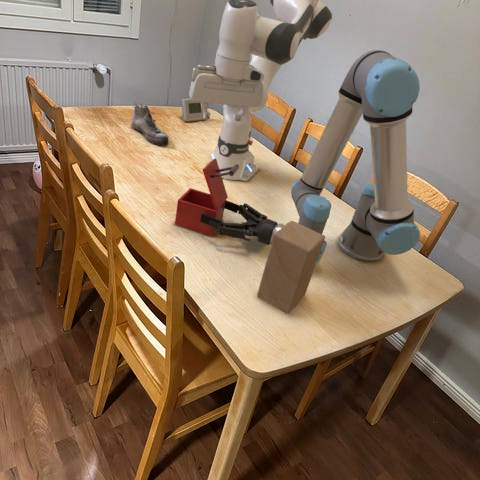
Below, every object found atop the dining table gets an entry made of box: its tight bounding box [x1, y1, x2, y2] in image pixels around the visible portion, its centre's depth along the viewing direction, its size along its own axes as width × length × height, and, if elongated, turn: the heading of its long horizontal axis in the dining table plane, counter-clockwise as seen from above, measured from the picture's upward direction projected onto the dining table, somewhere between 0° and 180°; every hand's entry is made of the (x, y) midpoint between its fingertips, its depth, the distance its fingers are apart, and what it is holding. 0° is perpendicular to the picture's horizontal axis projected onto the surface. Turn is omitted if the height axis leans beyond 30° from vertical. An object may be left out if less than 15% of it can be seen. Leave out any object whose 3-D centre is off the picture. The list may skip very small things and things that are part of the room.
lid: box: [201, 158, 239, 210], centre depth 132 cm, size 13×10×8 cm
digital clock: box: [181, 97, 209, 123], centre depth 223 cm, size 16×9×11 cm, turn 123°
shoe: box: [130, 103, 169, 147], centre depth 193 cm, size 25×11×12 cm, turn 30°
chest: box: [174, 187, 227, 237], centre depth 140 cm, size 13×10×9 cm
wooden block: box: [256, 220, 326, 314], centre depth 113 cm, size 10×10×20 cm
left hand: (222, 119), depth 123 cm, fingers open, 8 cm apart
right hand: (210, 209), depth 138 cm, fingers open, 12 cm apart
